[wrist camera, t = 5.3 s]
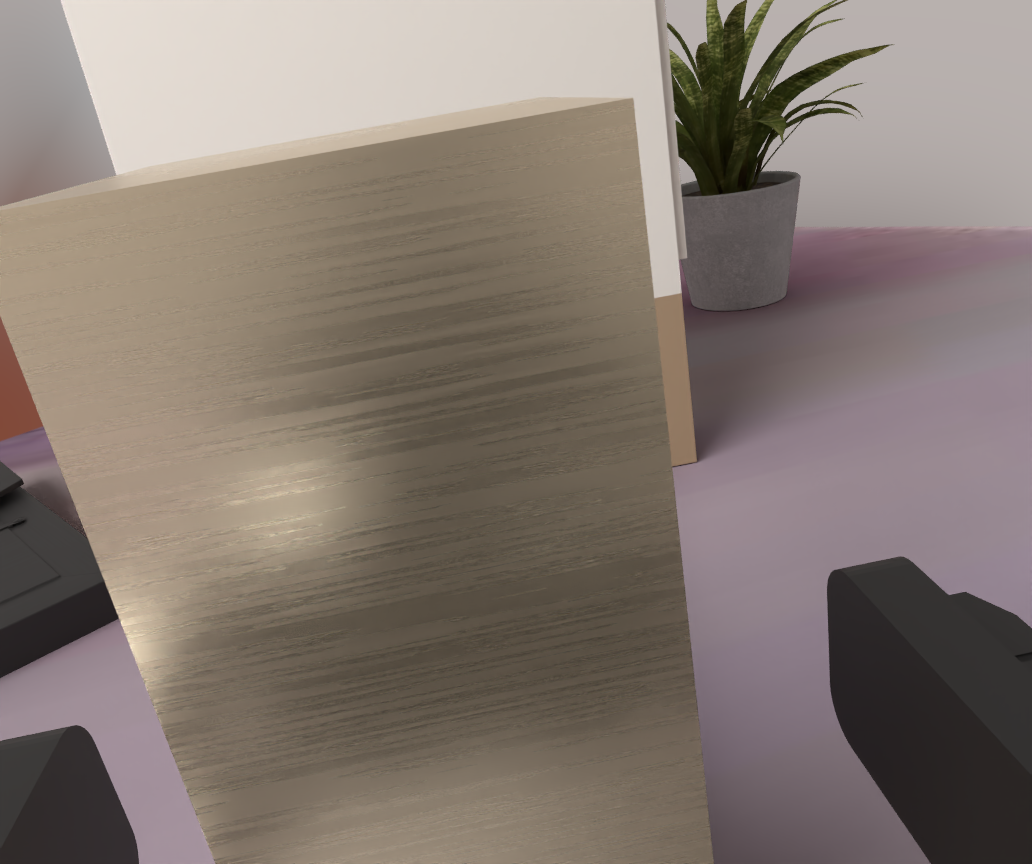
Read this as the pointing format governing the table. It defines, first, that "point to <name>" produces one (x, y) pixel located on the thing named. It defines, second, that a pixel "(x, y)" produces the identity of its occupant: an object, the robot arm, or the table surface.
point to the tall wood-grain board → (383, 484)
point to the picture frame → (44, 580)
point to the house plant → (740, 160)
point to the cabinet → (388, 91)
